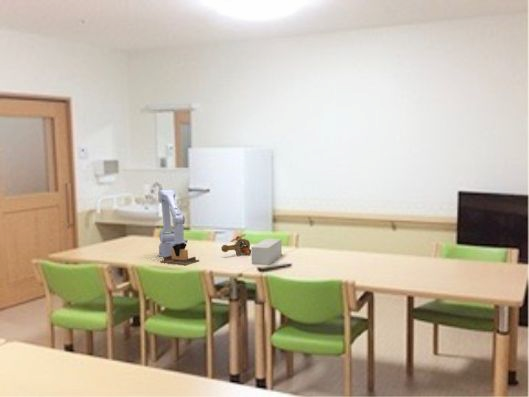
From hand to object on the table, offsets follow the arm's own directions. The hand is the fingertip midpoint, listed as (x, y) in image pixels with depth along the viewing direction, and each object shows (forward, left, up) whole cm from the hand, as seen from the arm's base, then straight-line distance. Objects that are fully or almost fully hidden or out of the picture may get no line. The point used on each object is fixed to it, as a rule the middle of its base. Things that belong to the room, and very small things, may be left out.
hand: (179, 255), depth 354 cm
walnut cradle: (0, 0, -4) cm, 4 cm away
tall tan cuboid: (0, 0, -2) cm, 2 cm away
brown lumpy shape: (+22, +33, -4) cm, 40 cm away
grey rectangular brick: (+45, +32, -4) cm, 55 cm away
